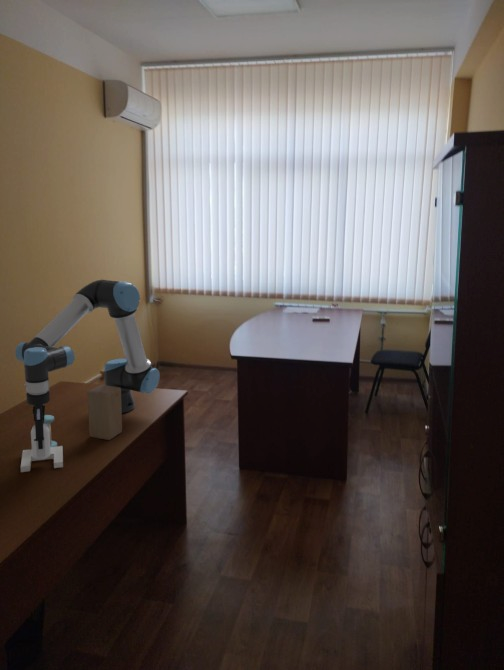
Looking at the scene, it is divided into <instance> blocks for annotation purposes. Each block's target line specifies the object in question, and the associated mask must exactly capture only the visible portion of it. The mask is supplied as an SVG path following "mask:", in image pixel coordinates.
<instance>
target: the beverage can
mask: <svg viewBox="0 0 504 670" xmlns="http://www.w3.org/2000/svg"><path fill="white" fill-rule="evenodd" d="M43 431H44V440H45V456H44V457H37V446H36V441H34V439H36V430H35V424H33V425H32V428H31V430H30V439H31V440H30V441H31V449H32V456H33V458H35V459H38V460H37V461H43V460H42V459H46V458H47V457H49V456H50V454H51V450H50V433H49V428H48V427H47V424H43ZM46 460H47V459H46Z"/></svg>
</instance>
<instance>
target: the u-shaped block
mask: <svg viewBox="0 0 504 670" xmlns="http://www.w3.org/2000/svg"><path fill="white" fill-rule="evenodd" d="M63 448H64V447H63V445H60V446H59V445H57V447H50V450H51V454H50V456H49V457H47V458H46V459H42V460H41V461H45V460H53V468H54V469H57V468H59V469H60V468H64V454H63V453H64V451H63ZM37 461H39V460H38V459H35V458H33V456H32V448H31V449H23V450H22V454H21V461H20V462H21V463H20V473H25V472H26V473H27V472H30V471H31V467H32V466H31V465H32V462H37Z"/></svg>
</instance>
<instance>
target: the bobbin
mask: <svg viewBox="0 0 504 670" xmlns="http://www.w3.org/2000/svg"><path fill="white" fill-rule="evenodd" d="M53 422H55V416H54V415H51V414H45V416H44V424H47V427H48V428H49V433H50V447H57V446H58V442H57V441H55V440H52V428H51V425H52V423H53Z"/></svg>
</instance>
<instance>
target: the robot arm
mask: <svg viewBox="0 0 504 670" xmlns="http://www.w3.org/2000/svg"><path fill="white" fill-rule="evenodd" d="M140 301H141V295H140V292H139V289H138V288H137V286H136V285H135V284H133V283H131V282H128V281H122V280H120V281H119V280H118V281H117V280H107V279H97V280H94V281H92V282H90V283H88V284H86V285H84V286H83V287H82V288H81V289H79V290H78V291H77V292H76V293H75V294H74V295H73V296H72V301H70V303H68V304H67V305H66V306H65V307H64V308H62V310H61V311H60V312H59V313H58V314H57V315H56V316H55V317H54V318H53V319H52V320H50V321H49V322H48V324H47V325H46V326H44V327H43V329H41V331H40V332H38V333H37V334H36V335H35V336H34V337H33V338H32V339H31V340H30V341H29V342H28V341H25V342H20V343H18V345H17V346H16V348H15V351H14V353H15V357H16V359H17V360H18V361H19V362H22V363H23V365H24V375H25V376H24V377H25V383H24V384H23V387H25V389H26V390H25V391H26V396H25V397H26V403H27V405H29V406H32V414H33V422H34V425H35V430H36V439H34V441H36V446H37V457H44V456H45V440H44V431H43V424H44V416H45V415H46V404H47V403H49V402H50V400H51V397H50V380H49V379H50V377H49V373H50V372H55V371H57V370H60V369H63V368H67V367H68V366H71V365H72V364H73V363H74V362H75V352H74V350H73V349H72V347H70V346H68V345H65V346H64V345H63V346H58V347H55V346H56V345H57V344H58V343H59V342H60V341H61V340H62V338H64V337H65V336H66V334H68V333H69V332H70V331H71V330H72V329H73V328H74V327H75V326H76V325H77V324H78V323H79V322H80V321H81V320H82V318H84V317H85V315H87V314H90V313H92V312H93V311H94V310H95V309H98V308H103V309H107V313H108V315H109V317H110V318H111V319H114V322H115V326H116V329H117V332H118V335H119V340H120V343H121V346H122V347H121V348H122V350H123V354H124V357H125V358H116V359H112V360H108V361H107V362H105V364H104V370H103V377H104V385H107V386H113V387H120V388H121V408H122V414H124V413H128V412H131V411H133V410H134V409H135V408H136V402H135V400H134V397H133V394H132V391H134V392H138V393H142V394H150V393H152V392H153V391H155V389H156V388H157V386H158V385H159V382H160V376H161V375H160V370H158V369H157V368H156V367H153V366H152V365H153V364H152V362H151V360H150V359H149V358H147V357H146V352H145V348H144V344H143V342H142V337H141V334H140V333H141V332H140V329H139V326H138V323H137V322H138V321H137V319H136V312H138V308H139V305H140Z"/></svg>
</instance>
